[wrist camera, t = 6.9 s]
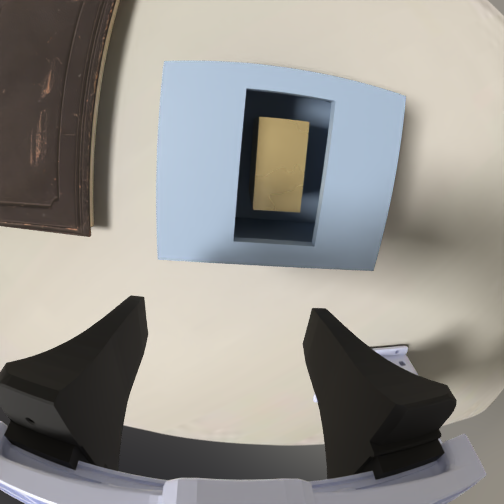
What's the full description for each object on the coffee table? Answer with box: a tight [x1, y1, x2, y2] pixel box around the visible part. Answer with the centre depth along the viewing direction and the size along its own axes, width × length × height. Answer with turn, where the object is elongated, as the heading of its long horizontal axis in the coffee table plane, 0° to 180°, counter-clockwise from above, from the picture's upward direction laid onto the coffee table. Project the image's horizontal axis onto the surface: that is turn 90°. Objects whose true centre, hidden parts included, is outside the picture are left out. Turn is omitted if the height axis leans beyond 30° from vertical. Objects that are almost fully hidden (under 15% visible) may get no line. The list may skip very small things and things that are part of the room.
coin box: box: [156, 61, 406, 271], centre depth 17 cm, size 12×10×6 cm
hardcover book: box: [0, 0, 120, 237], centre depth 15 cm, size 16×23×2 cm
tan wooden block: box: [249, 117, 309, 212], centre depth 17 cm, size 3×5×4 cm, turn 176°
